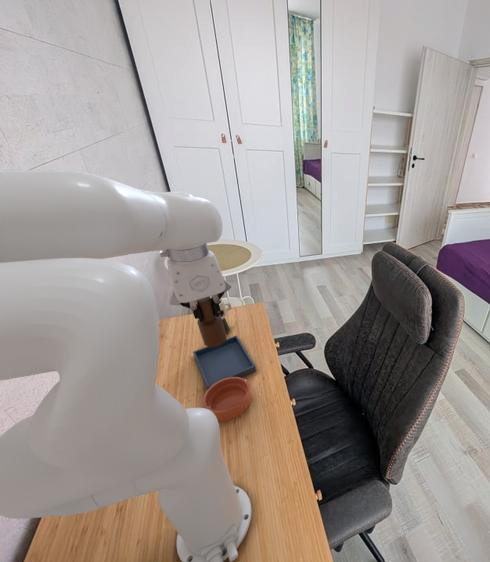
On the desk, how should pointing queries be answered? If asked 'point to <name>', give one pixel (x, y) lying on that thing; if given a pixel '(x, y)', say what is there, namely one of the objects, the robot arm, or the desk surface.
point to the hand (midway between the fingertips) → (208, 316)
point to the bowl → (228, 398)
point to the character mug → (224, 313)
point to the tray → (224, 361)
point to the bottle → (210, 324)
